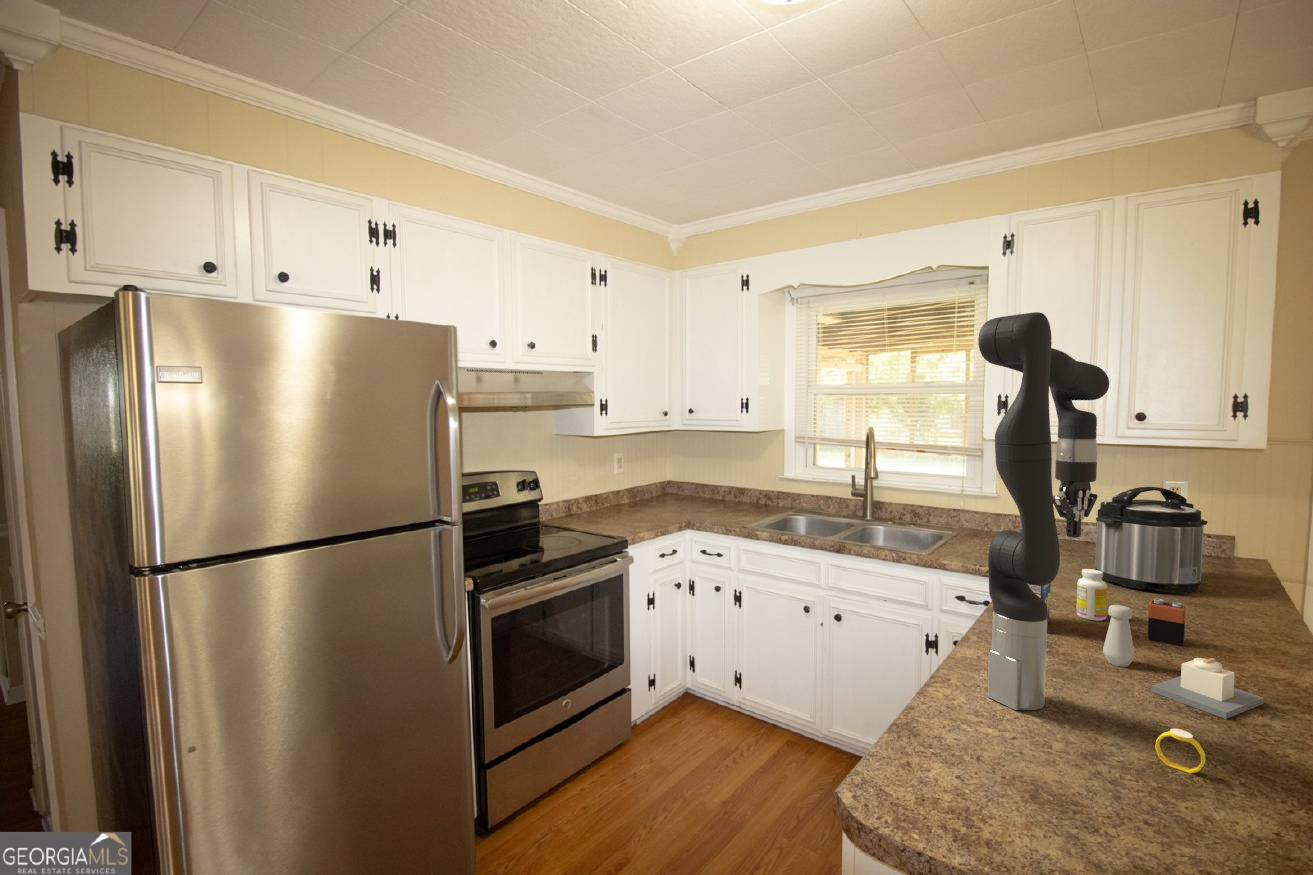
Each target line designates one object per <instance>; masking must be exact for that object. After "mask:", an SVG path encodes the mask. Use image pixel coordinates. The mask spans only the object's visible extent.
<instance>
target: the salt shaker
mask: <svg viewBox="0 0 1313 875" xmlns="http://www.w3.org/2000/svg"><path fill="white" fill-rule="evenodd" d="M1107 612H1108V615H1109V616H1110V621H1109V624H1108V628H1107V632H1106V636H1105V638H1104V639H1105V640H1104V644H1103V647H1102V654H1103V655H1104V656H1105V658H1106V660H1107V662H1108V664H1110V665H1113V666H1116V667H1122V668H1123V667H1124V668H1127V667H1129V666H1130V665H1131V664H1132V662H1133V661H1134V659H1135V657H1136V655H1135V654H1136V653H1135V648H1134V642H1133V636H1132V631H1131V625H1130V619H1132V617H1133V610H1132V609H1131V608H1130V607H1128V606H1125V605H1121V604H1111V605H1110V606H1108V609H1107Z"/></svg>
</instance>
